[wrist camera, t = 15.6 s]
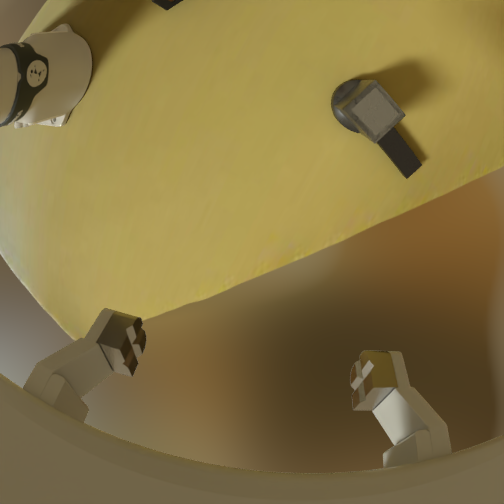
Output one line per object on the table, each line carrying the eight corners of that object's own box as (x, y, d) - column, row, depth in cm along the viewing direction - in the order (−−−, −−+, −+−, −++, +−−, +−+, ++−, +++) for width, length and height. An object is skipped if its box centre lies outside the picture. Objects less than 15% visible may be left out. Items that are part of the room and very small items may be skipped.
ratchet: (319, 103, 31) (325, 106, 27) (355, 69, 28) (366, 67, 23) (394, 183, 36) (407, 198, 31) (426, 154, 32) (443, 165, 28)
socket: (333, 105, 29) (343, 109, 24) (360, 80, 27) (375, 79, 22) (361, 133, 31) (374, 143, 26) (387, 109, 28) (405, 115, 23)
